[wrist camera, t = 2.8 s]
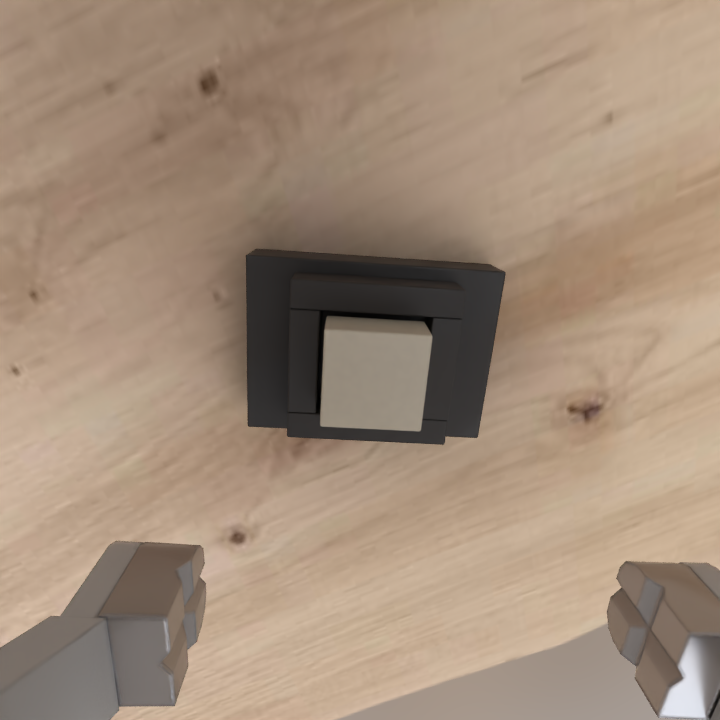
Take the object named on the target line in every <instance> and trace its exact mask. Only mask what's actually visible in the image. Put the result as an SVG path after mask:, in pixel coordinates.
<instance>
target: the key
mask: <svg viewBox="0 0 720 720" xmlns="http://www.w3.org/2000/svg"><path fill="white" fill-rule="evenodd" d="M432 338H433V337H432V334H431V333H430V331H429V329H428V327H427V326H426V324H425V322H423V321H407V320H391V319H375V318H358V317H342V316H327V317H326V323H325V329H324V346H323V368H322V390H321V411H320V426H322V427H341V428H361V429H381V430H401V431H420V430H421V426H422V418H423V410H424V402H425V394H426V386H427V378H428V370H429V362H430V354H431V346H432Z"/></svg>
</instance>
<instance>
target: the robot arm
mask: <svg viewBox="0 0 720 720" xmlns="http://www.w3.org/2000/svg"><path fill="white" fill-rule="evenodd" d="M204 564H205V562H204V551H203V548H202V547H201V546H200V545H187V544H171V543H155V542H144V543H143V542H129V541H115V542H114V543H112V544H110V545H109V546H108V547H107V549H106V550H105V552H104V553H103V555H102V556H101V557H100V559H99V560H98V562H97V563H96V565H95V566H94V568H93V569H92V571H91V572H90V574H89V575H88V576H87V578H86V579H85V581H84V582H83V584H82V585H81V587H80V588H79V590H78V591H77V592H76V594H75V595H74V597H73V598H72V600H71V601H70V603H69V604H68V606H67V607H66V608H65V610H64V611H63V613H62V614H61V616H50V617H48V618H47V619H45V620H44V621H42V622H40V623H39V624H37V625H36V626H34V627H32V628H31V629H29V630H28V631H26V632H25V633H23V634H21V635H20V636H18V637H17V638H15V639H13V640H12V641H10V642H9V643H7V644H5V645H4V646H2V647H1V648H0V720H110V719H111V718H112V717H113V716H114V715H115V714H116V713H117V712H118V711H119V706H175V703H176V700H177V697H178V695H179V692H180V689H181V686H182V683H183V680H184V677H185V674H186V671H187V669H188V653H187V650H188V649H189V648H190V647H191V646H192V645H193V644H195V643H196V642H197V639H198V636H199V633H200V630H201V627H202V622H203V617H204V612H205V604H206V583H205V582H204V581H203V580H202V579H201V578H200V574H201V572H202V569H203V566H204ZM616 579H617V580H618V582H619V584H620V586H621V589H620V590H619V591H617V592H616V593H615V594H614V595H613V596H611V597H610V601H609V605H608V609H607V618H608V627H609V631H610V634H611V637H612V639H613V642H614V643H615V645H616V647H617V649H618V650H619V652H620V654H621V655H622V656H624V657H625V658H626V659H627V660H629V661H630V662H631V663H633V664H634V665H635V666H636V673H635V679H636V681H637V683H638V685H639V686H640V688H641V689H642V691H643V693H644V695H645V696H646V698H647V700H648V701H649V702H650V705H651V707H652V708H653V710H654V711H655V713H656V715H657V716H658V718H676V719H695V720H720V571H719V570H718V569H717V568H716V567H714V566H712V565H710V564H708V563H686V562H680V563H666V562H633V561H626V562H625V563H624V564H623V565H622V566H621V567H620V569H619V572H618V575H617V578H616Z"/></svg>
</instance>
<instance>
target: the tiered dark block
mask: <svg viewBox="0 0 720 720" xmlns="http://www.w3.org/2000/svg"><path fill="white" fill-rule="evenodd" d="M504 280H505V272H504V271H502V270H500V269H498V268H496V267H494V266H492V265H490V264H475V263H460V262H445V261H430V260H415V259H400V258H386V257H371V256H356V255H341V254H326V253H311V252H296V251H281V250H267V249H255V250H254V251H252V252H251V253H249V254H247V255H246V299H247V402H248V426H249V427H269V428H287V436H288V437H299V438H320V439H340V440H360V441H381V442H401V443H422V444H442V445H443V444H444V443H445V436H449V437H470V438H477V437H478V433H479V427H480V421H481V415H482V409H483V403H484V397H485V391H486V386H487V380H488V374H489V368H490V362H491V356H492V350H493V344H494V339H495V333H496V327H497V321H498V315H499V309H500V303H501V297H502V291H503V286H504ZM327 316H342V317H358V318H375V319H391V320H407V321H423V322H425V324H426V326H427V327H428V329H429V331H430V333H431V334H432V337H433V338H432V346H431V354H430V362H429V370H428V378H427V386H426V394H425V402H424V410H423V418H422V426H421V430H420V431H401V430H381V429H361V428H341V427H322V426H320V411H321V390H322V368H323V346H324V329H325V323H326V317H327Z"/></svg>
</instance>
